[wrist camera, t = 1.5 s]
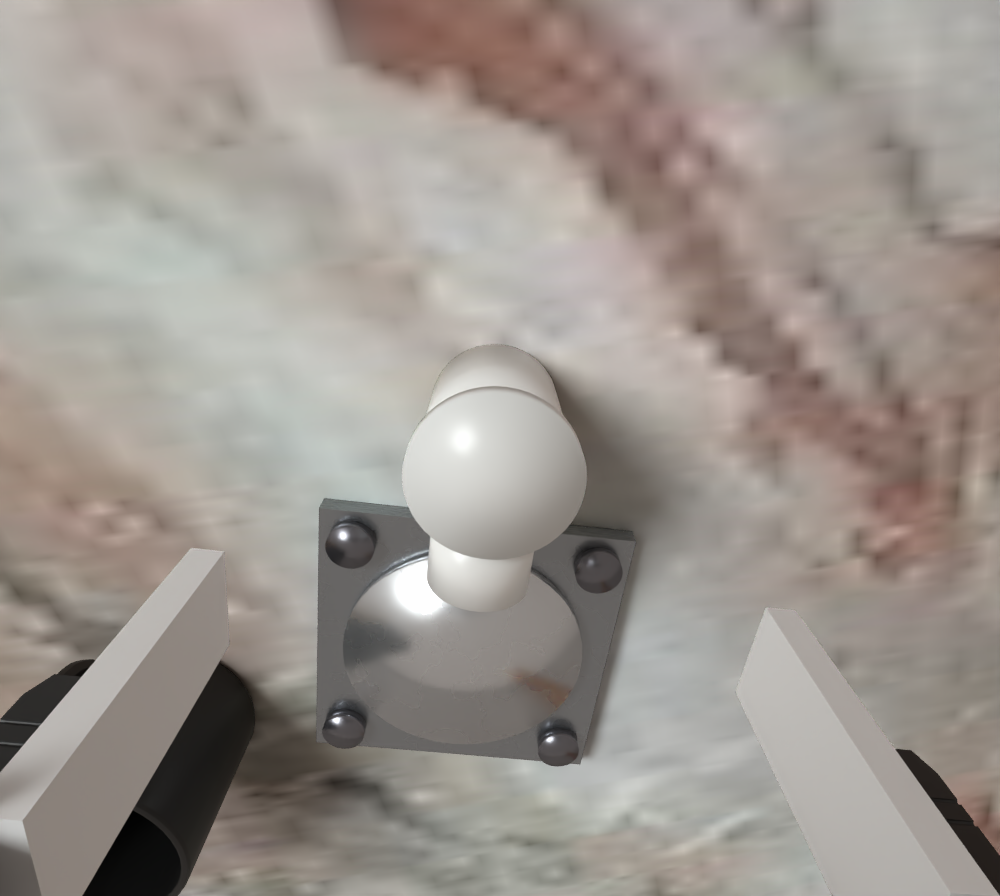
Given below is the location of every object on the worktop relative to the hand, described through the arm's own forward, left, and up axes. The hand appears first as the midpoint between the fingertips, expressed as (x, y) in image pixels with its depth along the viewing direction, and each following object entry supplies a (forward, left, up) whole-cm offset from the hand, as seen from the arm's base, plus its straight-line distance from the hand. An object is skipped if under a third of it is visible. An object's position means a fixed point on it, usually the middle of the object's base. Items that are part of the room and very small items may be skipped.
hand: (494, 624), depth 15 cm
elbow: (+1, 0, -16) cm, 16 cm away
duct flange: (+14, 0, -16) cm, 21 cm away
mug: (+20, -17, -16) cm, 31 cm away
